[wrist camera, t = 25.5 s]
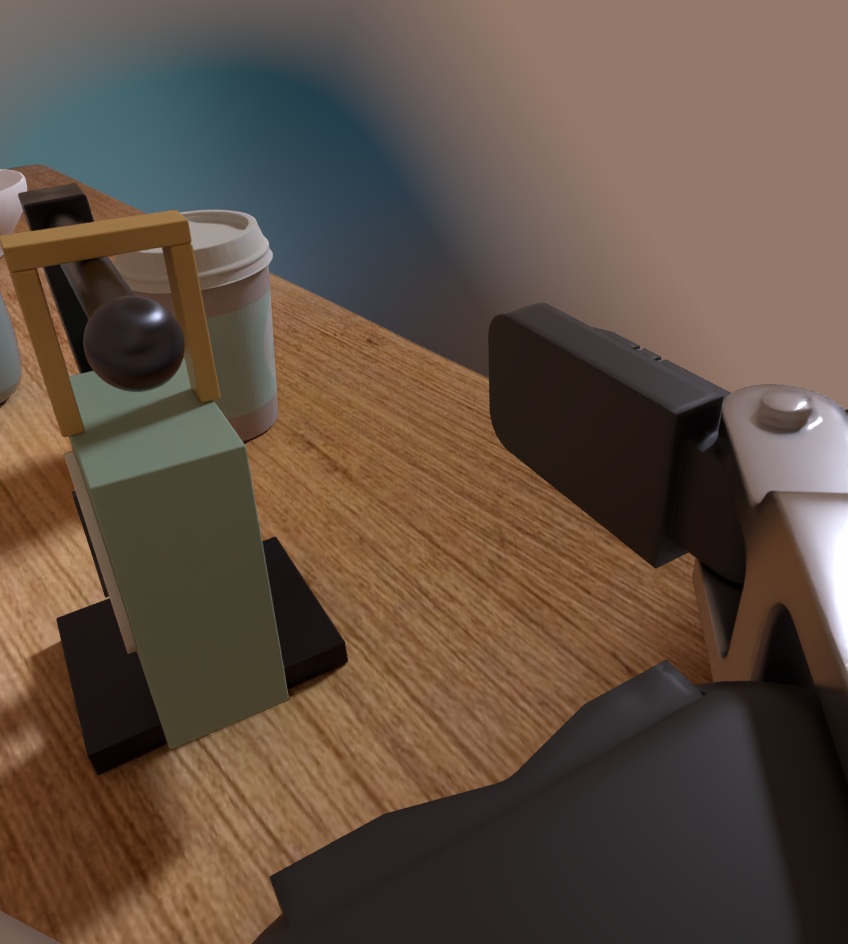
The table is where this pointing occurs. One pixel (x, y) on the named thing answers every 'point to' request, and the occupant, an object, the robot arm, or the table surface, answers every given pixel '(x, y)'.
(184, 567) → the green box with handle
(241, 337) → the coffee cup
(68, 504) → the table surface
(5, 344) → the cup
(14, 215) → the bowl
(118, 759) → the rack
